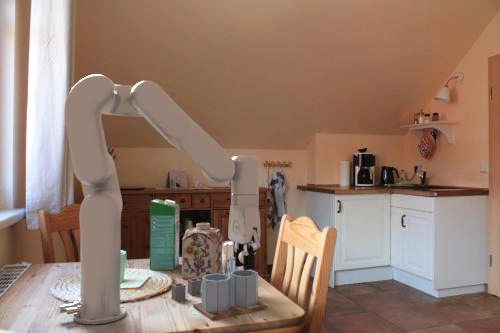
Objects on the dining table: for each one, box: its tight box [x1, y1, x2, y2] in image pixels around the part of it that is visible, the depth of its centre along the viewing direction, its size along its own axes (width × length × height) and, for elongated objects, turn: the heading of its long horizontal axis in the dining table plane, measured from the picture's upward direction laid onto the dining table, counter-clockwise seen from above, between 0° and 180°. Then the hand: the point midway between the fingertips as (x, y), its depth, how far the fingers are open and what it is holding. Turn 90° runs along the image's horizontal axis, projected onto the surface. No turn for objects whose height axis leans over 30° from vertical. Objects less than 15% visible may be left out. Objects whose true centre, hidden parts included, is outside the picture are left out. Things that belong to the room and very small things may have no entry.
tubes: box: [201, 269, 259, 313], centre depth 113 cm, size 16×7×8 cm, turn 122°
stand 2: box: [186, 278, 202, 296], centre depth 125 cm, size 3×3×4 cm
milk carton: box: [149, 198, 180, 271], centre depth 157 cm, size 9×9×25 cm
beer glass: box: [221, 240, 244, 276], centre depth 127 cm, size 7×7×15 cm
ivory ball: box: [239, 250, 245, 263], centre depth 115 cm, size 4×4×4 cm
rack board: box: [192, 300, 268, 321], centre depth 113 cm, size 17×11×1 cm, turn 122°
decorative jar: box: [181, 222, 224, 281], centre depth 146 cm, size 12×12×18 cm
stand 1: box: [171, 282, 187, 302], centre depth 120 cm, size 3×3×4 cm
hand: (244, 267), depth 115 cm, fingers closed on ivory ball, 3 cm apart
